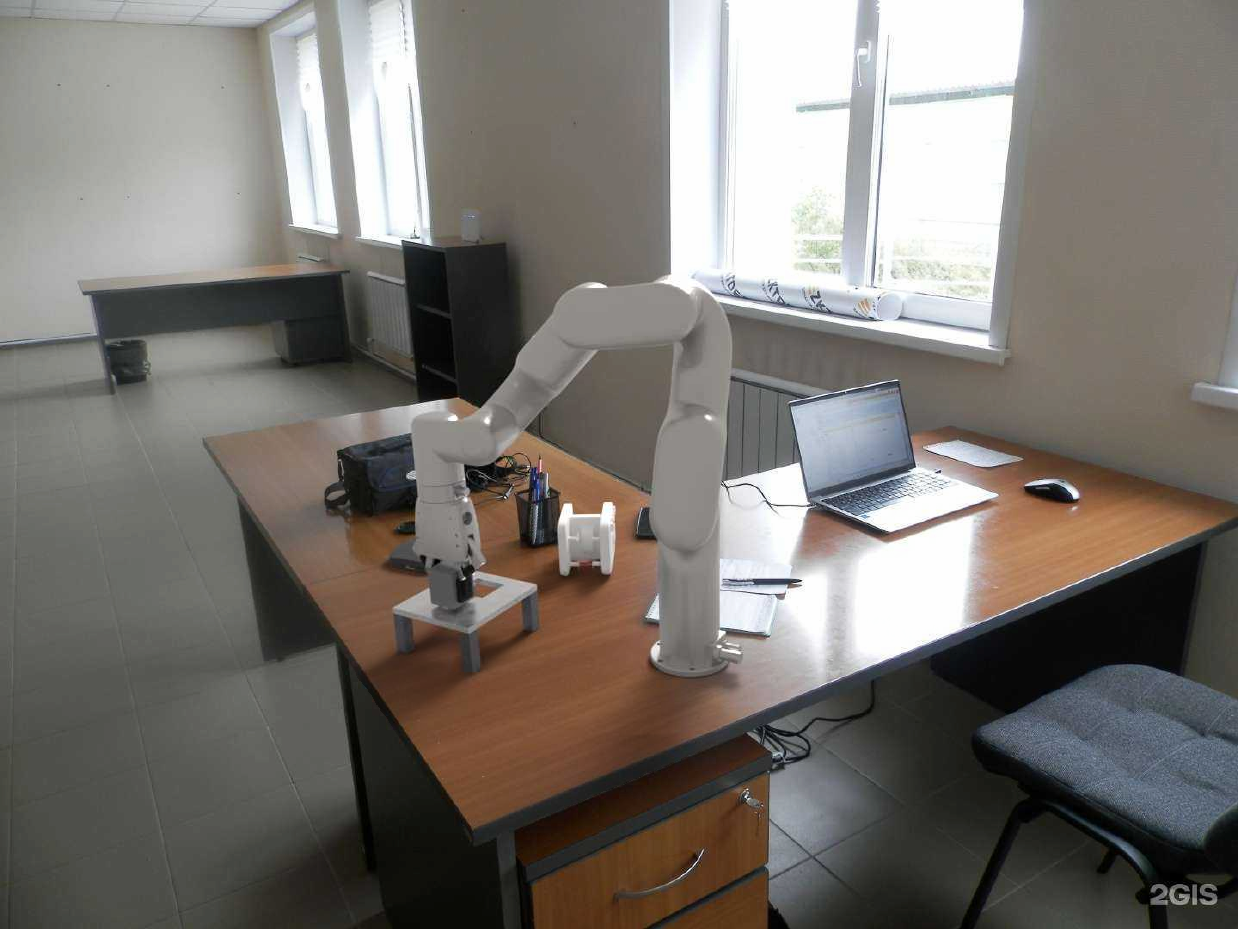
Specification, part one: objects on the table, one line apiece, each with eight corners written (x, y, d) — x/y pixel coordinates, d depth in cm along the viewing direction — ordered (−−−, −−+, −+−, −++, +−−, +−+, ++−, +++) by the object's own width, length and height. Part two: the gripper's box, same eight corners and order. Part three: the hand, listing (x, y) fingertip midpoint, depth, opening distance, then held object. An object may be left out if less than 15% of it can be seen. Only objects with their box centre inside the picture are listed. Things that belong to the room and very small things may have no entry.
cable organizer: (567, 551, 188) (564, 499, 185) (617, 550, 188) (615, 498, 184) (559, 581, 174) (556, 524, 170) (613, 580, 173) (611, 523, 170)
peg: (476, 616, 148) (471, 563, 146) (456, 629, 144) (451, 574, 141) (453, 610, 151) (448, 558, 148) (433, 622, 147) (427, 569, 144)
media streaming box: (426, 542, 197) (425, 529, 196) (481, 551, 191) (480, 538, 190) (382, 566, 185) (380, 553, 184) (440, 577, 178) (438, 563, 177)
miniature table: (539, 627, 155) (536, 584, 153) (472, 674, 140) (468, 628, 138) (468, 608, 163) (464, 568, 161) (397, 651, 148) (392, 607, 146)
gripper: (499, 490, 140) (507, 597, 145) (418, 477, 148) (429, 578, 154) (468, 505, 134) (478, 616, 139) (385, 490, 142) (397, 595, 147)
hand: (452, 595), depth 146 cm, fingers closed on peg, 4 cm apart
